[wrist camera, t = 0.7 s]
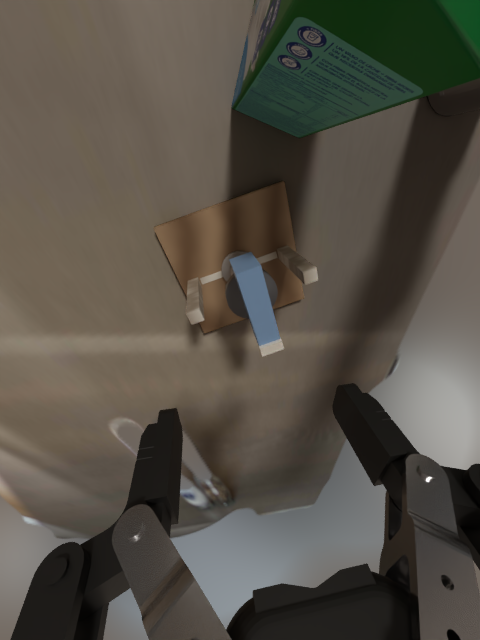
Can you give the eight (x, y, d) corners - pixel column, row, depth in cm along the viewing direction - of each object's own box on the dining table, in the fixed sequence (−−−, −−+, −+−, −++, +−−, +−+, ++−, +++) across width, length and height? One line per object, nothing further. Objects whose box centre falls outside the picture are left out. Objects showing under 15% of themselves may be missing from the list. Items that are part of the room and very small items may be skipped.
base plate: (281, 180, 32) (318, 183, 22) (301, 295, 42) (333, 331, 32) (154, 226, 32) (138, 248, 23) (204, 329, 42) (207, 374, 32)
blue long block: (263, 242, 26) (281, 259, 21) (281, 315, 32) (299, 344, 26) (211, 260, 26) (216, 282, 21) (238, 330, 32) (247, 362, 26)
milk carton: (300, 139, 30) (557, 55, 9) (230, 108, 27) (360, -114, 6) (334, 39, 26) (971, -570, 5) (256, -9, 23) (903, -1869, 2)
